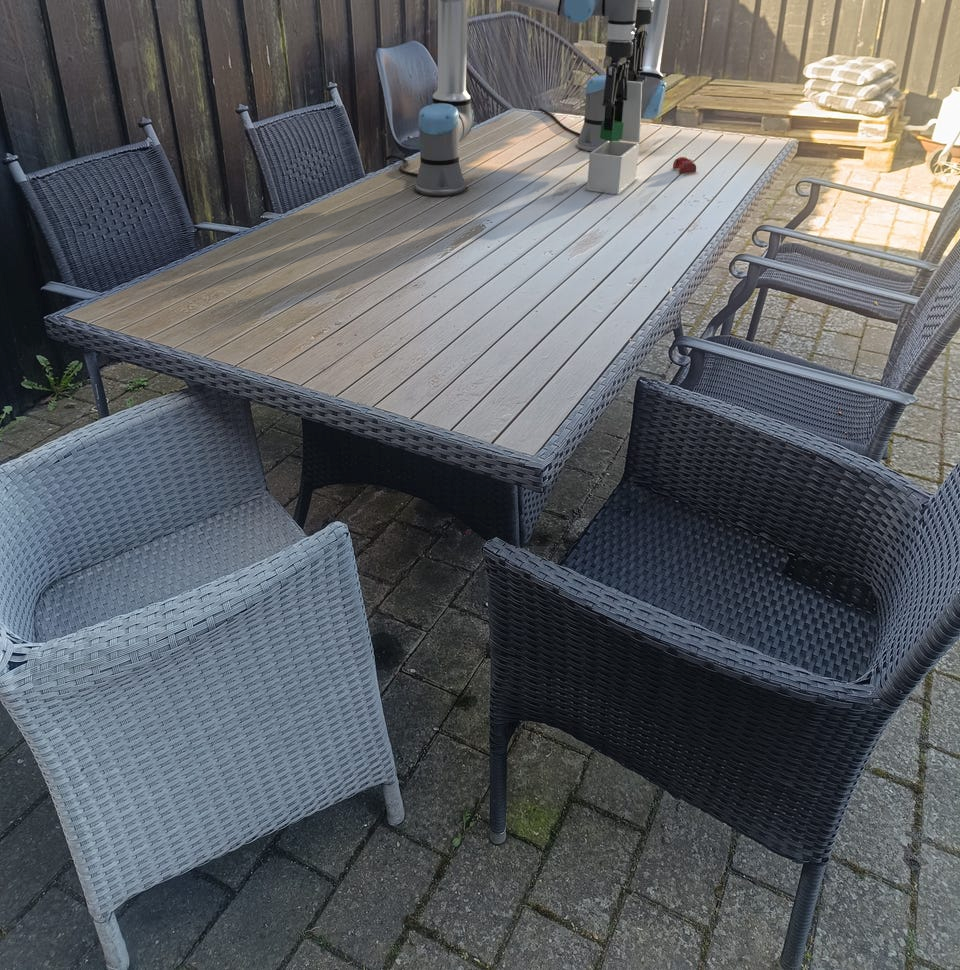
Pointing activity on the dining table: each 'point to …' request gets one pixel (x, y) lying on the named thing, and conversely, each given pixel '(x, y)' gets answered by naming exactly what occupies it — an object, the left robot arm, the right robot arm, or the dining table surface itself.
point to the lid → (632, 110)
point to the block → (612, 132)
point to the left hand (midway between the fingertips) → (612, 127)
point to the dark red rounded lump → (684, 165)
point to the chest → (612, 167)
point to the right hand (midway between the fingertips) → (631, 95)
